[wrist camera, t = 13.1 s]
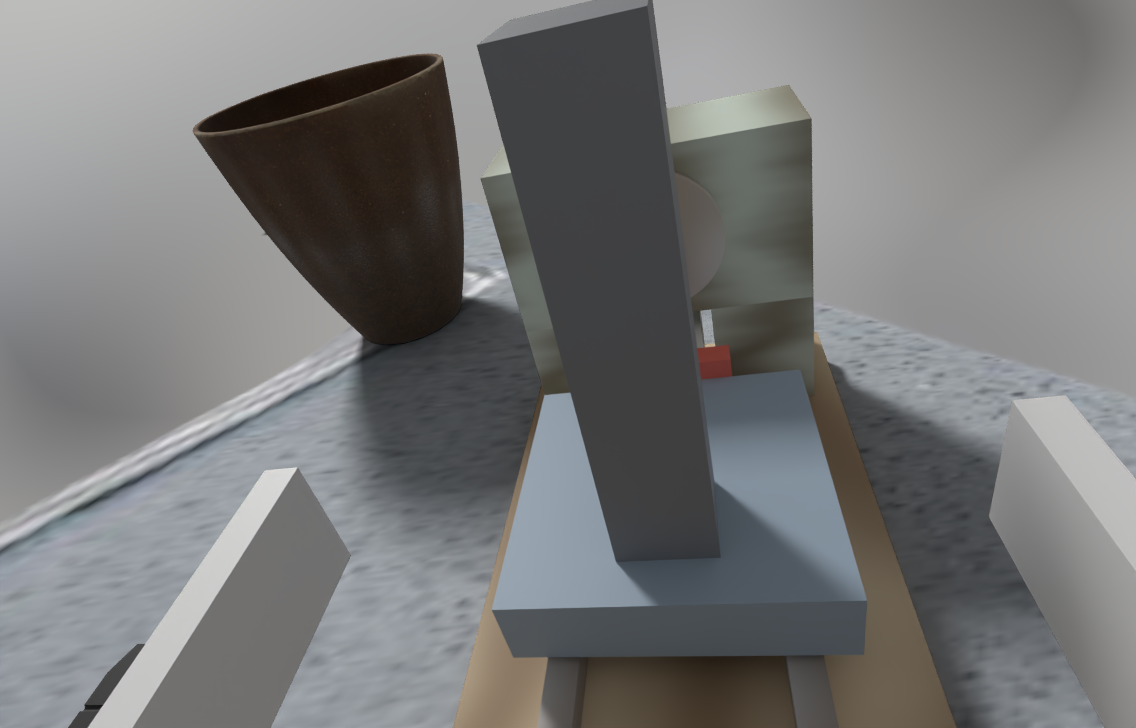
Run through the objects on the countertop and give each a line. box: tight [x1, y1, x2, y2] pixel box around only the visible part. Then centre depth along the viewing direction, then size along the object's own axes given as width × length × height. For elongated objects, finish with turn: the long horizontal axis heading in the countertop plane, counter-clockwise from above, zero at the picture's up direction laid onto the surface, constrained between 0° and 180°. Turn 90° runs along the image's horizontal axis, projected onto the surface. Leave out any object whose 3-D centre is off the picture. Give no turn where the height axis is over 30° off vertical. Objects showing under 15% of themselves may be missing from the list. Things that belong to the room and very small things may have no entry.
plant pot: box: [193, 54, 464, 344], centre depth 43 cm, size 15×15×16 cm
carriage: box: [477, 0, 867, 658], centre depth 18 cm, size 10×10×16 cm
